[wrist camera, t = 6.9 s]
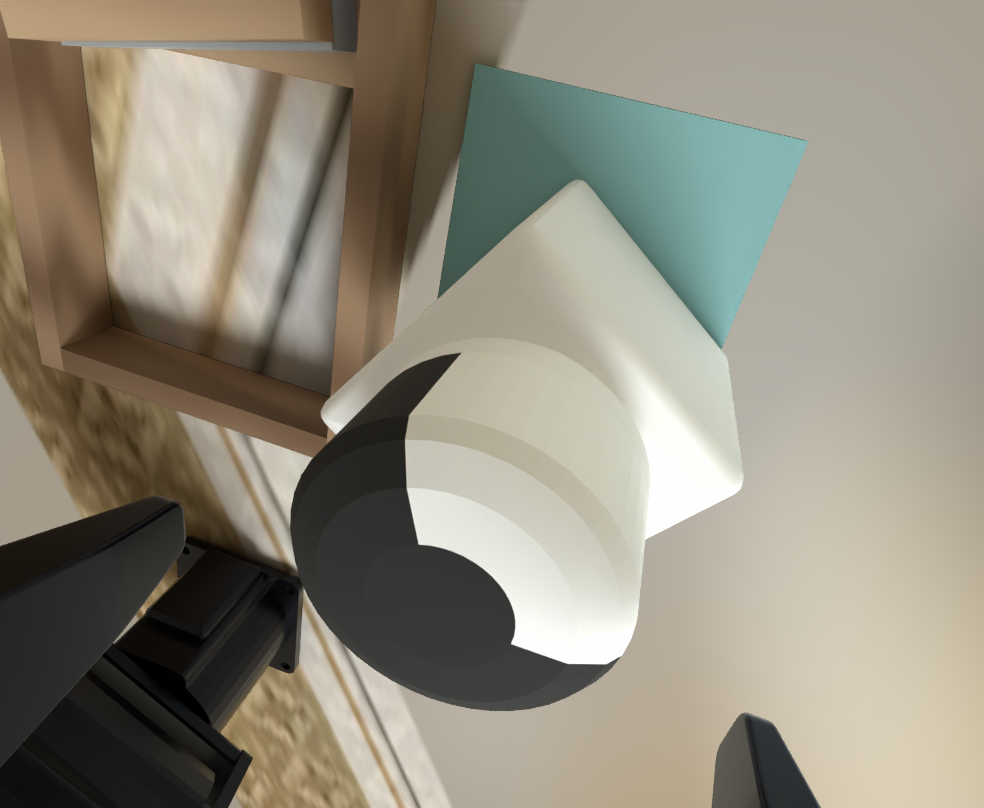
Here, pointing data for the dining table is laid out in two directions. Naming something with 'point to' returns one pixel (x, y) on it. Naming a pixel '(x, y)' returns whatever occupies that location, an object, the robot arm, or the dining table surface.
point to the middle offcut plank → (342, 31)
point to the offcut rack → (80, 252)
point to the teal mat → (622, 182)
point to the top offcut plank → (169, 20)
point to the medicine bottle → (516, 467)
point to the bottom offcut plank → (292, 62)
